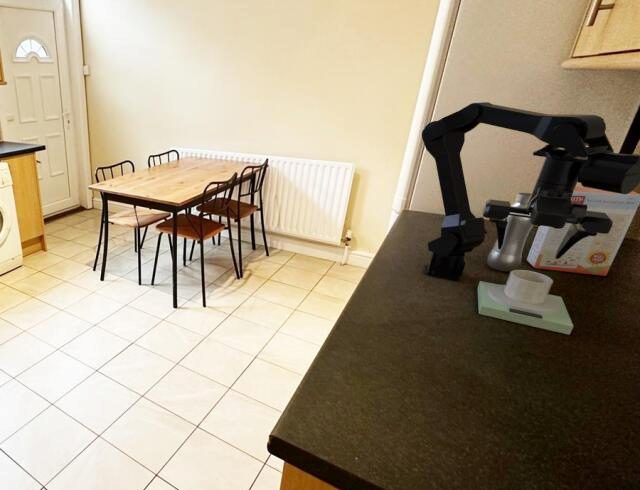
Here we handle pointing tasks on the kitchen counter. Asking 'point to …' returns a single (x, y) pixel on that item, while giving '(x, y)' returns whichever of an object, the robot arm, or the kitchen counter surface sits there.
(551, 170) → the robot arm
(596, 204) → the cracker box
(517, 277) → the bowl
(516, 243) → the silver metal bottle
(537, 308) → the scale
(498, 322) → the kitchen counter surface
